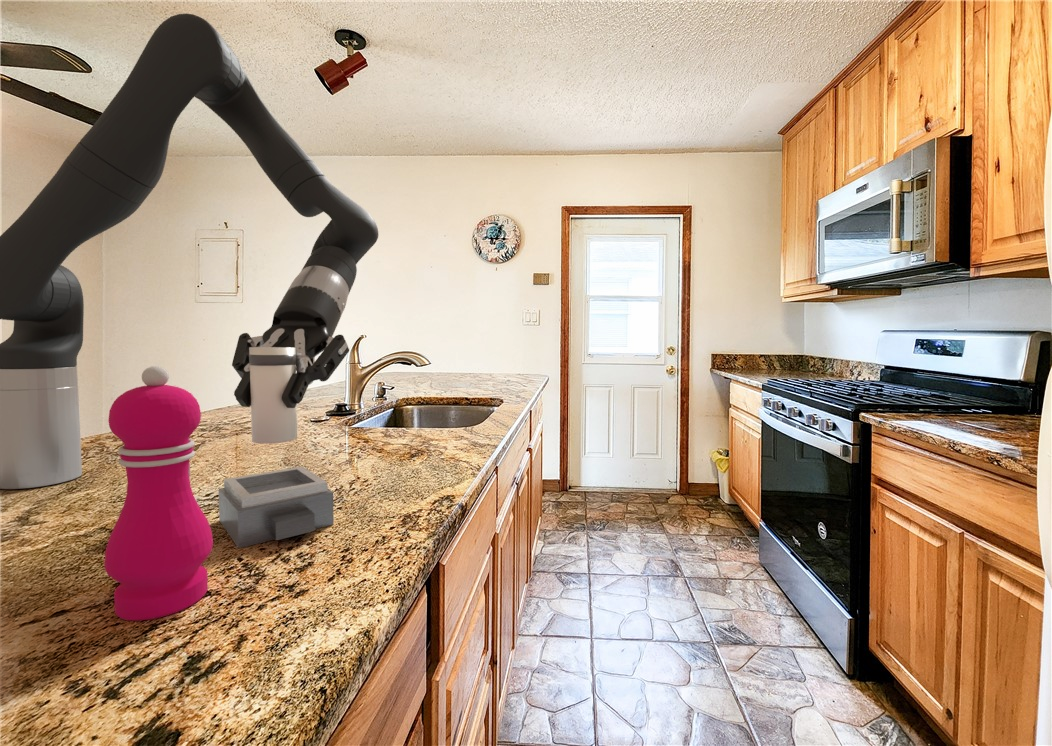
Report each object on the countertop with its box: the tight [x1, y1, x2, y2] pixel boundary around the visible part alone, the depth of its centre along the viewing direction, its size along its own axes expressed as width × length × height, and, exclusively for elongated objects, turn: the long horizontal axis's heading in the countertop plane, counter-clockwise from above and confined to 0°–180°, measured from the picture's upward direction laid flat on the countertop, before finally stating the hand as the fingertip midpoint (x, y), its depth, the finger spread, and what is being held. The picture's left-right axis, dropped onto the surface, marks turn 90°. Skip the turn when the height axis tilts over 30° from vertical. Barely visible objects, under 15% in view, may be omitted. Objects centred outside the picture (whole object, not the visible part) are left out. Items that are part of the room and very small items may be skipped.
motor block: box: [218, 466, 335, 549], centre depth 56 cm, size 12×10×5 cm
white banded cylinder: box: [249, 347, 298, 445], centre depth 56 cm, size 5×5×11 cm
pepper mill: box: [104, 365, 214, 622], centre depth 39 cm, size 7×7×20 cm
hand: (265, 402), depth 54 cm, fingers closed on white banded cylinder, 4 cm apart
